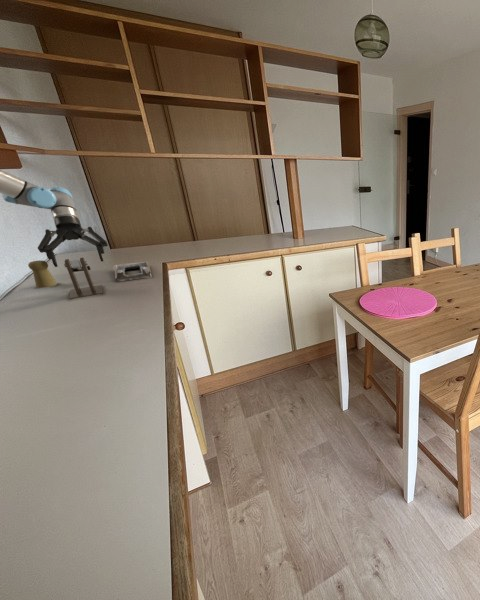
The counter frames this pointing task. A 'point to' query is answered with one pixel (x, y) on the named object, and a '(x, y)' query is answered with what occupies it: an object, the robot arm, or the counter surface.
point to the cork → (41, 274)
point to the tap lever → (77, 266)
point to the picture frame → (132, 266)
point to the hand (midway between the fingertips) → (79, 262)
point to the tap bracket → (78, 291)
